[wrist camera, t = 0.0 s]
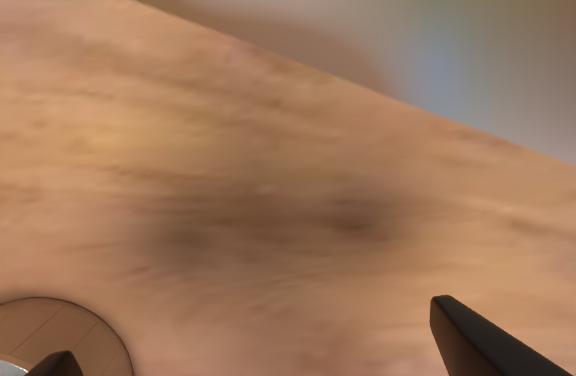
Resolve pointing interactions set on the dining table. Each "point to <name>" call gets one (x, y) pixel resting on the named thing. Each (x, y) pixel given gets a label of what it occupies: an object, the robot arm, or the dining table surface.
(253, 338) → the dining table surface
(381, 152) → the dining table surface
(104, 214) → the dining table surface
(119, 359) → the pot
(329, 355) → the dining table surface
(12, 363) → the lid
